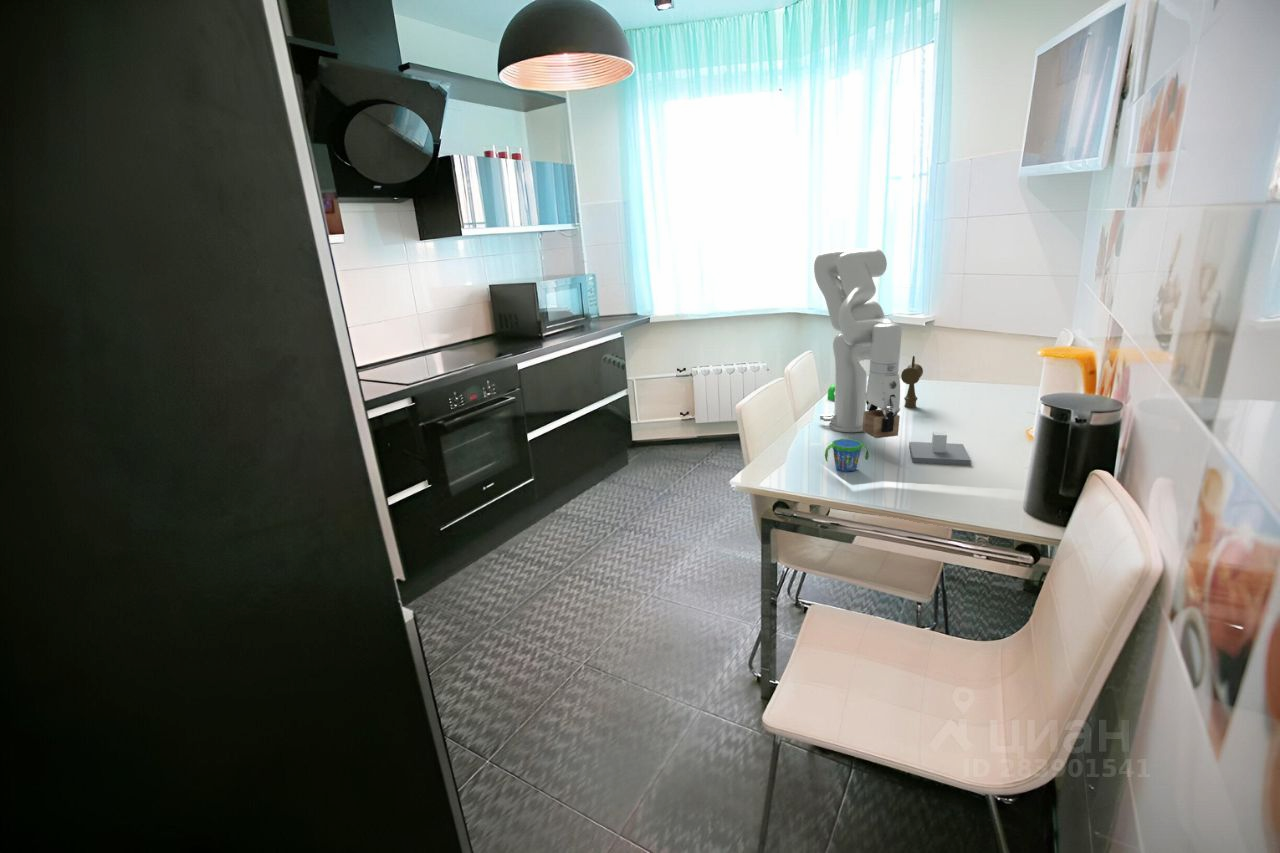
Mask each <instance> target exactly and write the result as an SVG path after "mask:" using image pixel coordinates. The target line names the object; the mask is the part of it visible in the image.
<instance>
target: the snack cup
mask: <svg viewBox="0 0 1280 853" xmlns="http://www.w3.org/2000/svg"><path fill="white" fill-rule="evenodd" d="M863 447H864V448H865V451H866V452H865V456H864V459H865V460H866V461H868V460H869V457H870V456H869V455H870V453H869V452H870V451H869V449H868V447H867V446H866V445H865V444H864V443H862V442H861V441H859V440H856V439H849V438H841V439H839V438H838V439H836V440H833V441H832V443H831V444H829V445H828V446H827V447H826V449H825V451H824V458H825V462H828V458H829V457H828V455H829V450H830V449H832V450H833V460H834V466H835V469H836V470H838V471H841V472H845V473H846V472H854V471H855V470H857V468H858V465H859V459H860V455H861V452H862V449H863ZM855 472H856V471H855Z"/></svg>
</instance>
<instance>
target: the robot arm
mask: <svg viewBox="0 0 1280 853" xmlns="http://www.w3.org/2000/svg"><path fill="white" fill-rule="evenodd" d="M887 265H888V263H887V258H886V255H885V253H884V252H883V251H882V250H880V249H879V248H868V247H863V248H862V247H860V248H847V249H845V248H844V249H842V248H841V249H833V250H832V249H831V250H826V251H823V252H821V253H820V254H818V255H817V256H816V257H815V260H814V264H813V270H814V271H813V272H814V279H815V281H816V285H817V286H818V288H819V290H820V291H821V293H822V295H823V297H824V299H825V303H826V306H827V311H828V314H829V319H830V322H831V325H832V327H833V329H834V330H835V331H837V332H839V333H838V334H837V335H835V337H834V339H833V340H832V341H833V343H832V349H833V356H834V366H835V367H834V368H835V370H834V371H835V374H834V375H835V378H834V379H835V384H834V385H835V392H834V395H835V399H834V410H833V413H830V414H825V413H820V416H819V420H820V421H823V422H828V423H829V424H828V427H829V428H830V429H831V430H833V431H837V432H840V433H841V432H842V433H861V432H863V431H862V429H863V414H864V411H872V410H879V409H883V414H884V419H883V421H882V432H892V431H893V425H894V419H895V417H896V415H898V413H899V412H900V411H901V407H900V405H901V404H900V402H901V378H900V374H899V368H900V357H901V348H902V346H901V344H902V333H903V331H902V330H903V328H902V326H901V325H900V324H899V323H897V322H894V321H893V320H892V319H890V318H887V317H886V316H885V313H884V310H883V308H882V306H881V305H880V303H878V302H877V301H875V300H872V299H873V297H874V296H875V294H876V291H877V288H876V285H875V282H874V279H873V278H879V277H881V276H883V275H884V274H885V272H886V271H887ZM862 361H863V362H864V361H870V362H869V372H868V373H869V374H868V376H867V372H866V370H865V368H864V367H863V365H862V364H861V363H860V362H862ZM867 378H868V379H867ZM887 410H889V411H890V412H889V413H887Z"/></svg>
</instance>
